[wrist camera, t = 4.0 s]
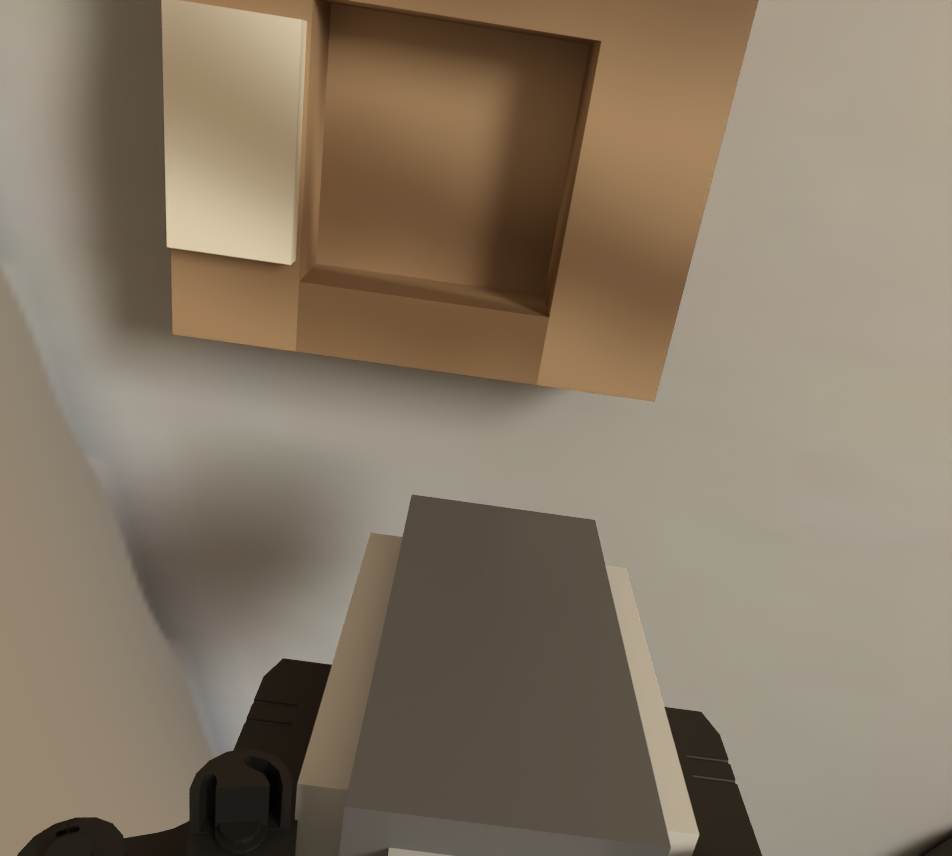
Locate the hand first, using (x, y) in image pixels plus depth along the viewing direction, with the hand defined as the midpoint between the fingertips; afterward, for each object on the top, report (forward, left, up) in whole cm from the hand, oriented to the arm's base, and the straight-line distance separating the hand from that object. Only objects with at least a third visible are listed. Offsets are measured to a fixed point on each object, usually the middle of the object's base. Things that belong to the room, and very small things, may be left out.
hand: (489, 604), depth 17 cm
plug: (0, 0, -1) cm, 1 cm away
